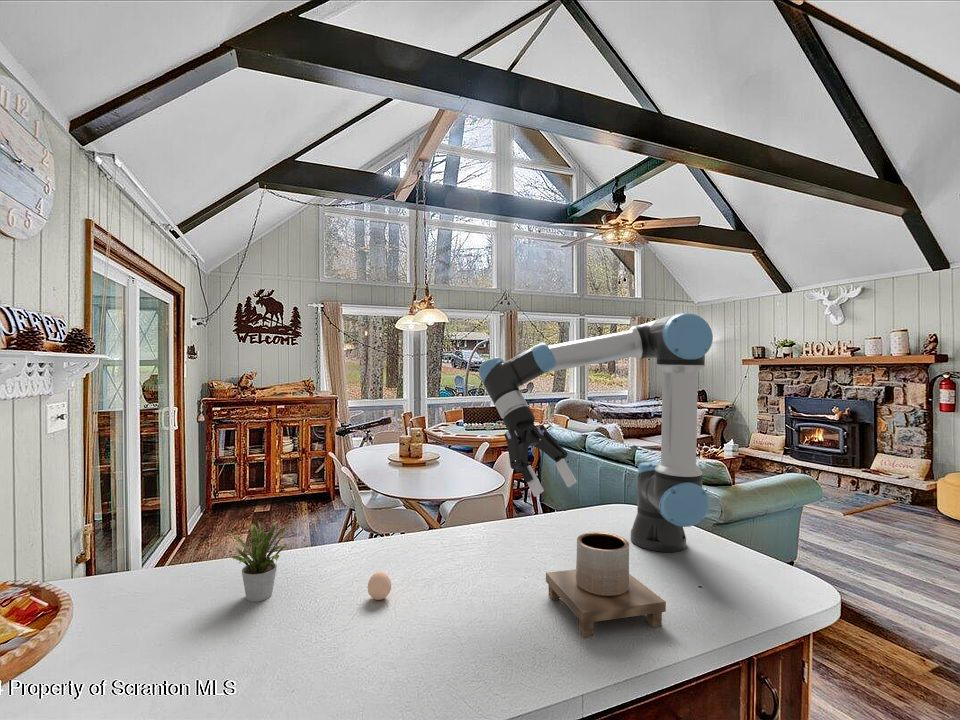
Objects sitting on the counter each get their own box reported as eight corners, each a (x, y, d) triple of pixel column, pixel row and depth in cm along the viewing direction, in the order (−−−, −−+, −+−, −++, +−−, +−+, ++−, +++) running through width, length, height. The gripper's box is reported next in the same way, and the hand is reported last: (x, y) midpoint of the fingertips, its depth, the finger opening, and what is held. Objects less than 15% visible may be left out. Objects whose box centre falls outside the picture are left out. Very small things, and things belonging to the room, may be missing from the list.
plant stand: (617, 586, 117) (617, 564, 117) (665, 626, 100) (665, 601, 100) (545, 594, 112) (545, 572, 112) (582, 639, 95) (583, 612, 95)
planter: (631, 601, 100) (632, 553, 100) (575, 595, 102) (576, 548, 102) (626, 577, 110) (627, 534, 110) (576, 572, 113) (576, 530, 112)
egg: (365, 595, 111) (365, 569, 111) (388, 591, 113) (388, 565, 113) (369, 606, 106) (370, 578, 106) (393, 602, 108) (393, 574, 108)
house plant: (313, 589, 113) (314, 517, 113) (263, 618, 101) (264, 537, 101) (267, 577, 119) (267, 508, 119) (214, 602, 107) (215, 526, 107)
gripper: (535, 418, 138) (574, 488, 129) (472, 423, 120) (512, 505, 111) (553, 403, 134) (595, 474, 125) (491, 406, 116) (534, 490, 107)
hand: (556, 489), depth 118 cm, fingers open, 13 cm apart
